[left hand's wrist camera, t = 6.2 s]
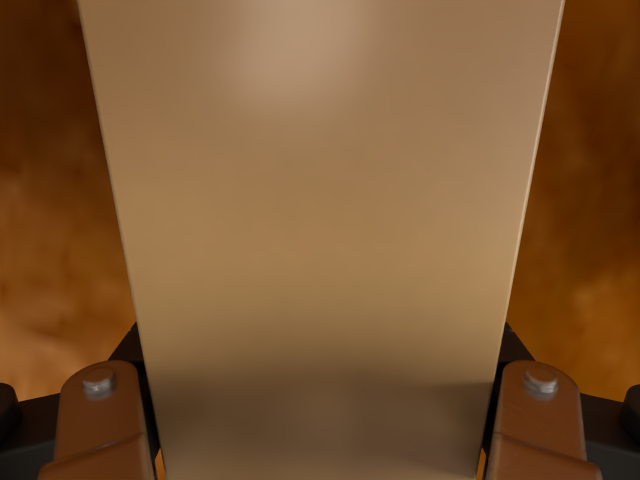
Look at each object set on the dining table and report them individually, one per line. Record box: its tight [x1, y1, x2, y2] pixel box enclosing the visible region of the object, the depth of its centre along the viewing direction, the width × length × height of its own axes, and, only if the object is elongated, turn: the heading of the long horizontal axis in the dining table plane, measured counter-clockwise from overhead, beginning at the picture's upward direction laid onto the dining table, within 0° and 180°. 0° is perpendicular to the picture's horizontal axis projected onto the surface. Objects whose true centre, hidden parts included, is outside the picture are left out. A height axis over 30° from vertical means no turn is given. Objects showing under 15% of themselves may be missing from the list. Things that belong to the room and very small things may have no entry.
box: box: [77, 0, 565, 480], centre depth 10 cm, size 20×6×11 cm, turn 0°
